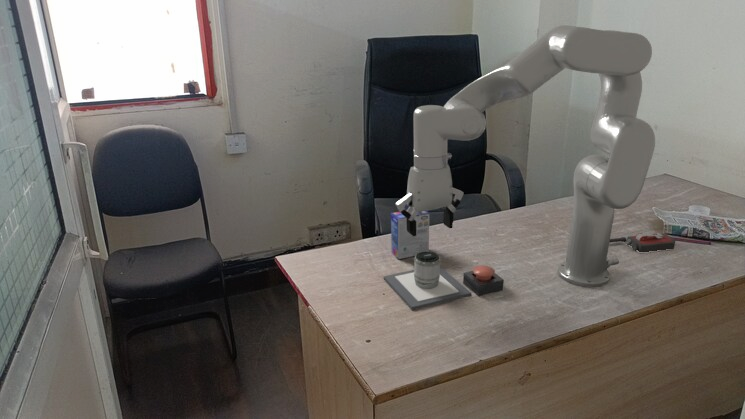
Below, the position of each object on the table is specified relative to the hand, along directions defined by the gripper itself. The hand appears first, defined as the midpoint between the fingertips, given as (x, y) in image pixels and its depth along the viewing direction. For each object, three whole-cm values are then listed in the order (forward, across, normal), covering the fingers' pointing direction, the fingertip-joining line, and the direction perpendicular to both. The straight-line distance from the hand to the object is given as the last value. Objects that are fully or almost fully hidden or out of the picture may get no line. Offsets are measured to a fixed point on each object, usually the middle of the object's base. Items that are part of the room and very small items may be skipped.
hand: (430, 230), depth 128 cm
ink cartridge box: (+16, -4, -19) cm, 25 cm away
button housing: (+16, -12, +5) cm, 21 cm away
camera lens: (+15, +1, 0) cm, 15 cm away
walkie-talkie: (+18, -66, +4) cm, 68 cm away
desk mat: (+16, +1, 0) cm, 16 cm away
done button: (+14, -12, +5) cm, 19 cm away
